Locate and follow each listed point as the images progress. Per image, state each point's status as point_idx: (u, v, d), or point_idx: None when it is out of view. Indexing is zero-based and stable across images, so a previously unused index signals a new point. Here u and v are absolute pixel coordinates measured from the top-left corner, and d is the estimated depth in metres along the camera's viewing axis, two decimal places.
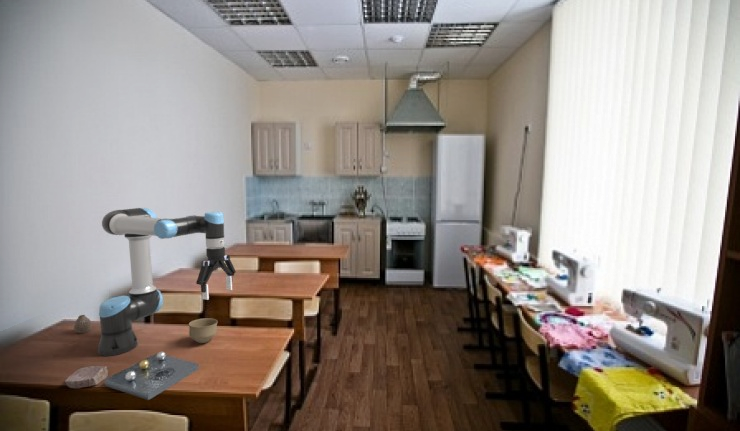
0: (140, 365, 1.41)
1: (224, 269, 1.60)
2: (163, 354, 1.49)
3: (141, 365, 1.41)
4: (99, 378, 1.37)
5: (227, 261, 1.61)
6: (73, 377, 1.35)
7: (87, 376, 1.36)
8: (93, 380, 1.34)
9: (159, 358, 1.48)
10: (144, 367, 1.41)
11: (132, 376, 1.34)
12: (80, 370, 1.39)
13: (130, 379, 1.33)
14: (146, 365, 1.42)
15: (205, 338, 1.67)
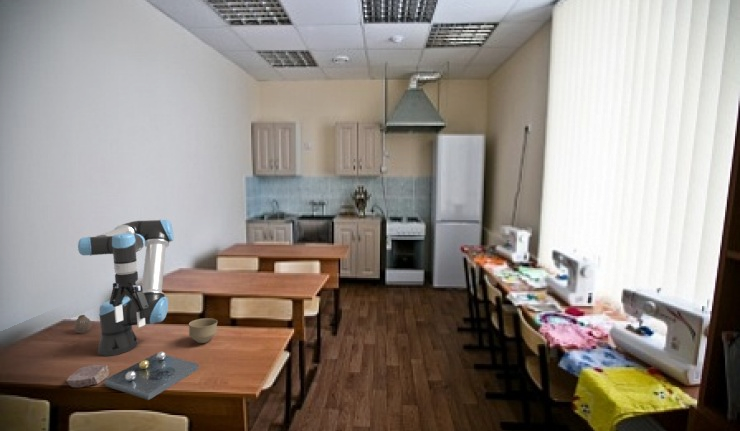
0: (140, 365, 1.41)
1: None
2: (163, 354, 1.49)
3: (141, 365, 1.41)
4: (100, 377, 1.38)
5: None
6: (74, 376, 1.36)
7: (88, 375, 1.36)
8: (94, 380, 1.35)
9: (159, 358, 1.48)
10: (144, 367, 1.41)
11: (132, 376, 1.34)
12: (81, 369, 1.40)
13: (130, 379, 1.33)
14: (146, 365, 1.42)
15: (205, 338, 1.67)
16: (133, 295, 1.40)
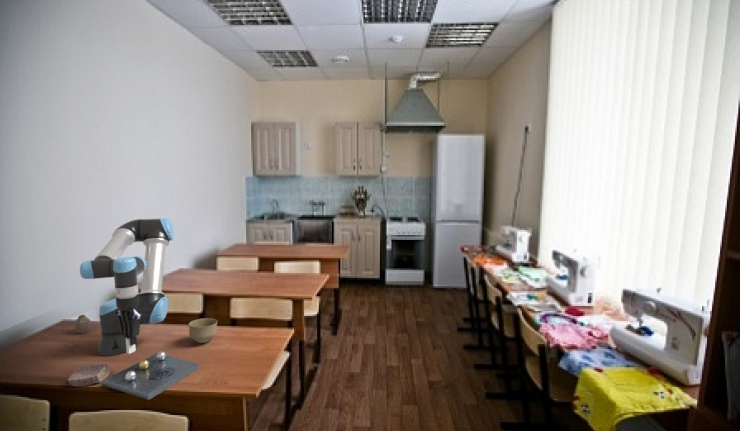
0: (140, 365, 1.41)
1: None
2: (163, 354, 1.49)
3: (141, 365, 1.41)
4: (102, 376, 1.39)
5: None
6: (76, 375, 1.36)
7: (90, 374, 1.37)
8: (96, 378, 1.36)
9: (159, 358, 1.48)
10: (144, 367, 1.41)
11: (132, 376, 1.34)
12: (82, 369, 1.40)
13: (130, 379, 1.33)
14: (146, 365, 1.42)
15: (205, 338, 1.67)
16: (130, 321, 1.42)
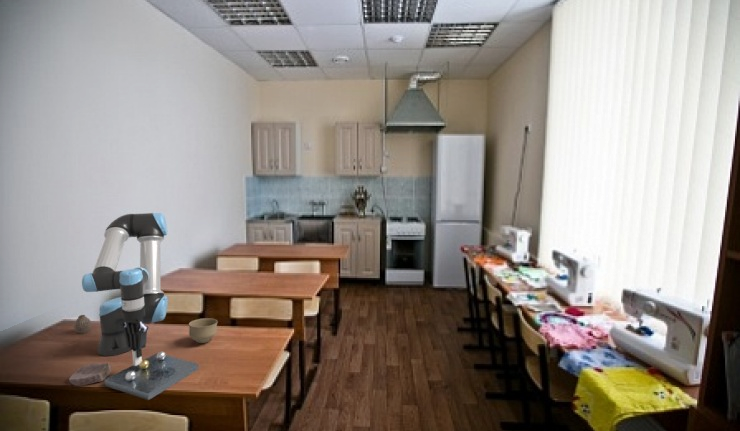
0: (140, 365, 1.41)
1: None
2: (163, 354, 1.49)
3: (141, 365, 1.41)
4: (104, 375, 1.40)
5: None
6: (77, 375, 1.37)
7: (92, 373, 1.38)
8: (98, 377, 1.37)
9: (159, 358, 1.48)
10: (144, 367, 1.41)
11: (132, 376, 1.34)
12: (82, 368, 1.40)
13: (130, 379, 1.33)
14: (146, 365, 1.42)
15: (205, 338, 1.67)
16: (137, 333, 1.41)
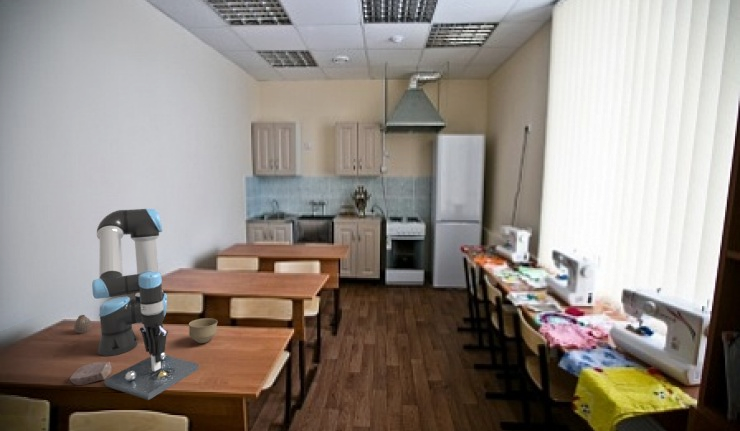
0: (160, 376, 1.37)
1: None
2: (163, 354, 1.49)
3: None
4: (105, 373, 1.41)
5: None
6: (78, 374, 1.37)
7: (93, 372, 1.39)
8: (101, 375, 1.38)
9: None
10: None
11: (132, 376, 1.34)
12: (82, 368, 1.41)
13: (130, 379, 1.33)
14: None
15: (205, 338, 1.67)
16: (156, 338, 1.37)
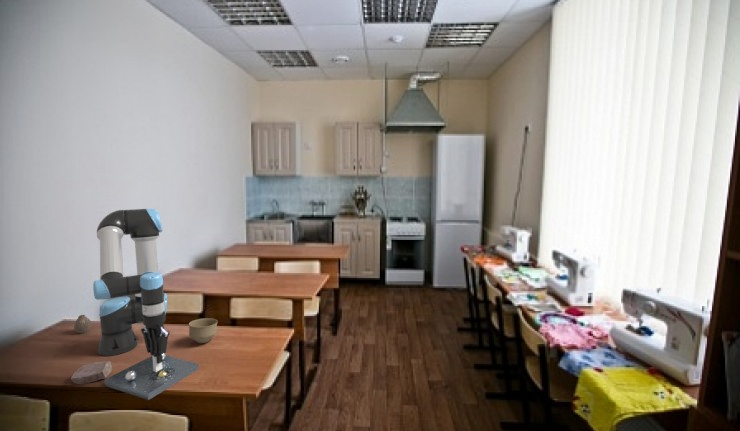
0: (160, 376, 1.37)
1: None
2: (163, 354, 1.49)
3: (161, 376, 1.37)
4: (106, 372, 1.41)
5: None
6: (79, 374, 1.38)
7: (94, 371, 1.39)
8: (102, 374, 1.39)
9: None
10: None
11: (132, 376, 1.34)
12: (83, 367, 1.41)
13: (130, 379, 1.33)
14: None
15: (205, 338, 1.67)
16: (157, 339, 1.37)
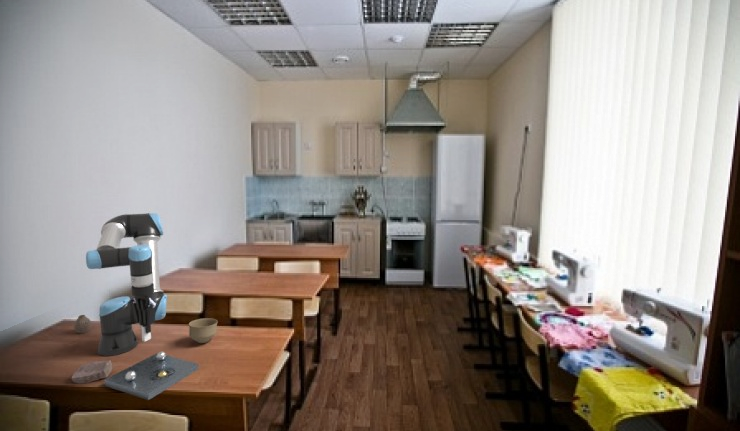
0: (159, 376, 1.38)
1: None
2: (163, 354, 1.49)
3: (161, 376, 1.38)
4: (107, 371, 1.42)
5: None
6: (80, 373, 1.38)
7: (95, 370, 1.40)
8: (103, 373, 1.39)
9: (159, 358, 1.48)
10: None
11: (132, 376, 1.34)
12: (83, 367, 1.41)
13: (130, 379, 1.33)
14: None
15: (205, 338, 1.67)
16: (146, 309, 1.41)
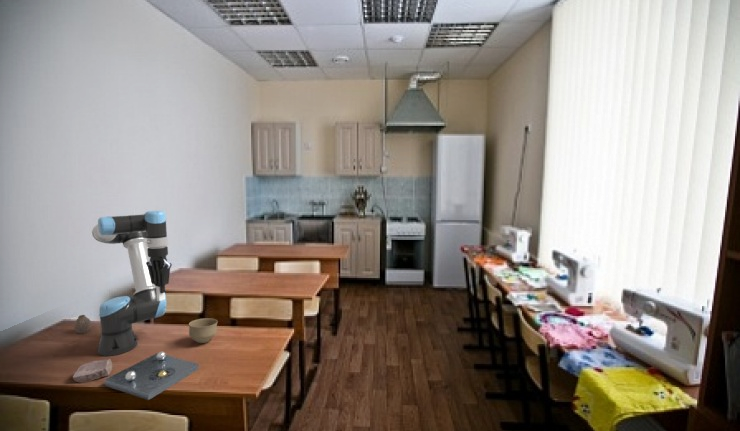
0: (159, 375, 1.38)
1: None
2: (163, 354, 1.49)
3: (160, 375, 1.38)
4: (108, 369, 1.43)
5: None
6: (81, 372, 1.39)
7: (97, 369, 1.41)
8: (105, 371, 1.41)
9: (159, 358, 1.48)
10: None
11: (132, 376, 1.34)
12: (83, 366, 1.42)
13: (130, 379, 1.33)
14: None
15: (205, 338, 1.67)
16: (160, 270, 1.51)
